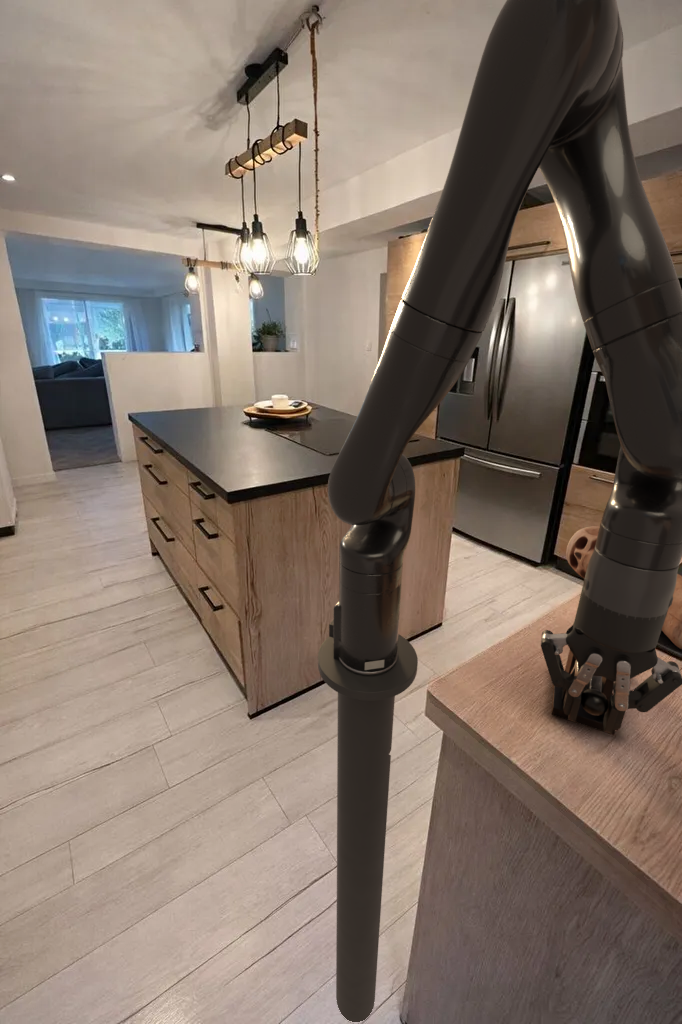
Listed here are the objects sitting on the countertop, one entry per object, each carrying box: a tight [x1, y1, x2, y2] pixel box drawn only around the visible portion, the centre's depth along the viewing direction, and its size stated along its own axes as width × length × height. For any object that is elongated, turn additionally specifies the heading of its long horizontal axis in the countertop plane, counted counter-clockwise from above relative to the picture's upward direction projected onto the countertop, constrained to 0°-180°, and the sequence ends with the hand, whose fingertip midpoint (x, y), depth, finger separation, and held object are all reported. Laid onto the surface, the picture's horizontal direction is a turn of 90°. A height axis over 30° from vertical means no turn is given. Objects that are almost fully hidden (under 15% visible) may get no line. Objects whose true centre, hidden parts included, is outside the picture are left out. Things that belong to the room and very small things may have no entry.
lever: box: [581, 676, 609, 715], centre depth 52 cm, size 11×3×3 cm, turn 154°
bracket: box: [551, 649, 616, 736], centre depth 56 cm, size 8×7×12 cm
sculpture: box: [565, 525, 682, 650], centre depth 80 cm, size 10×14×30 cm
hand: (588, 721), depth 51 cm, fingers open, 3 cm apart
